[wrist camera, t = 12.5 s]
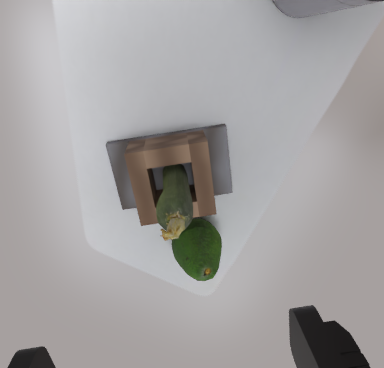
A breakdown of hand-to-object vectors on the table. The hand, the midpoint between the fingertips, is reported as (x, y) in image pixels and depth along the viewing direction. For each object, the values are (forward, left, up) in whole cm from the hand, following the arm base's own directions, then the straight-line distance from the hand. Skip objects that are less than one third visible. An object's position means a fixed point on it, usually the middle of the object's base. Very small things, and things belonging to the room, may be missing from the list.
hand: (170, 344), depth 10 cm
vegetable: (+1, +9, -38) cm, 39 cm away
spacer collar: (+1, +9, -40) cm, 41 cm away
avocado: (-1, +21, -40) cm, 45 cm away
